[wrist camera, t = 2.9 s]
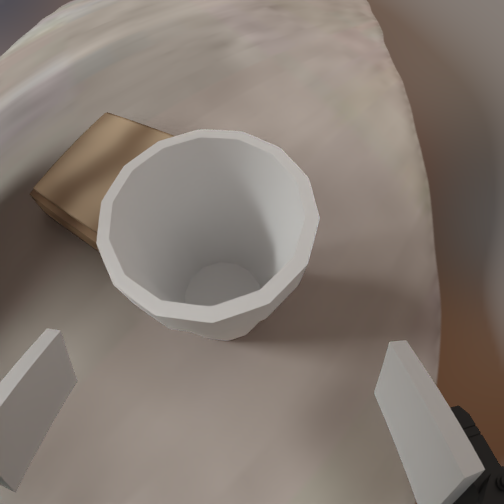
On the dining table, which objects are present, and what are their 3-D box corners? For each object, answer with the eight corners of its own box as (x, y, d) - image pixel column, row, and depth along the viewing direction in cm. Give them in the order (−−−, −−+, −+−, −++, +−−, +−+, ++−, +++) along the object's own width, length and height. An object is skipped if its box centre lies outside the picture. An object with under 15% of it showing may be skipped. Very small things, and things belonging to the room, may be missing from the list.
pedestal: (45, 212, 28) (26, 190, 24) (115, 133, 33) (105, 108, 29) (121, 267, 26) (104, 246, 22) (199, 168, 30) (193, 139, 27)
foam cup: (259, 232, 27) (269, 112, 16) (303, 334, 24) (358, 269, 12) (152, 267, 26) (89, 165, 14) (183, 376, 22) (116, 352, 10)
